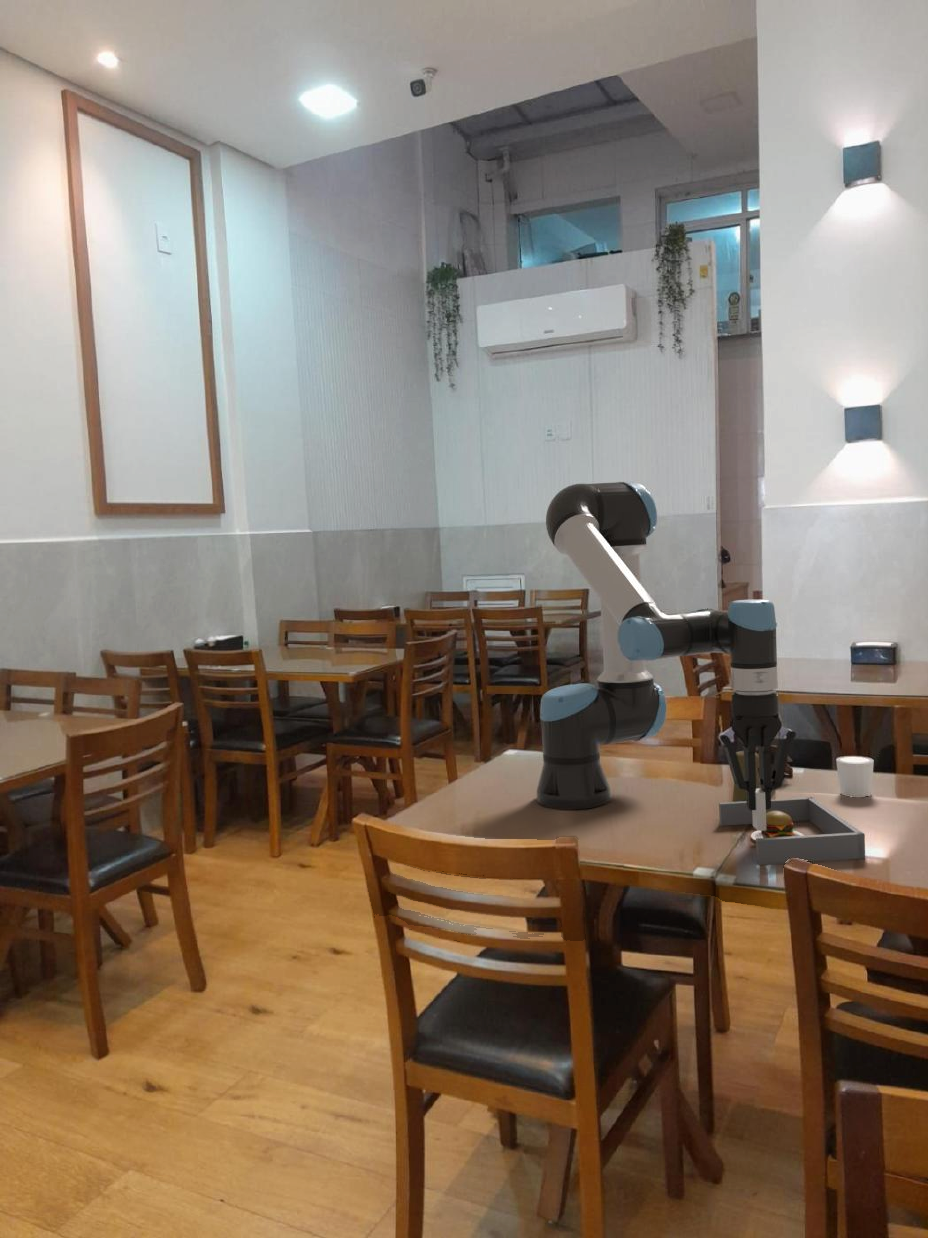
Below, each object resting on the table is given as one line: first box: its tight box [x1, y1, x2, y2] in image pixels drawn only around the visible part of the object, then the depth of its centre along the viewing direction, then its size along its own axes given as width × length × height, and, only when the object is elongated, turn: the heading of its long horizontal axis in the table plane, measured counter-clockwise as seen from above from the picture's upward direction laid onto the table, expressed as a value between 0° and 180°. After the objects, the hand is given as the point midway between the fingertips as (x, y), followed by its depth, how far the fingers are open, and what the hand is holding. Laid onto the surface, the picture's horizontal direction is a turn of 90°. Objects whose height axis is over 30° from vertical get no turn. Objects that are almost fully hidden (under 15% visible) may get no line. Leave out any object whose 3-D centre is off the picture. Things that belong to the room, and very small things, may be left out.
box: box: [718, 796, 866, 866], centre depth 158 cm, size 22×17×4 cm
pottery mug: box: [756, 744, 794, 780], centre depth 200 cm, size 12×10×8 cm
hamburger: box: [750, 811, 805, 842], centre depth 159 cm, size 12×12×6 cm
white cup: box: [835, 755, 875, 798], centre depth 183 cm, size 7×7×7 cm
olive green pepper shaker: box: [731, 750, 761, 802], centre depth 178 cm, size 6×6×11 cm
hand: (759, 828), depth 158 cm, fingers closed
